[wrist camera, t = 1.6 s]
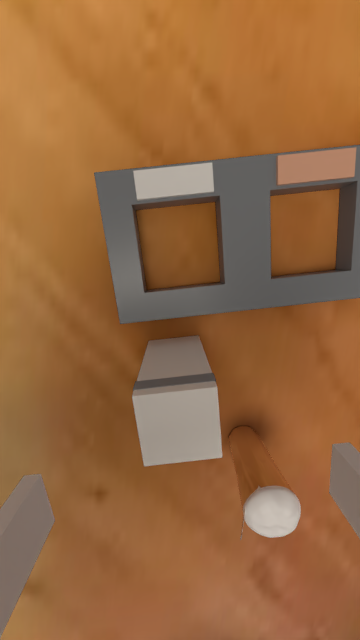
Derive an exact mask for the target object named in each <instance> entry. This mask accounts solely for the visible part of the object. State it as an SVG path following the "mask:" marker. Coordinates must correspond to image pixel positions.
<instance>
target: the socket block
mask: <svg viewBox="0 0 360 640" xmlns="http://www.w3.org/2000/svg"><path fill="white" fill-rule="evenodd" d="M94 175H95V181H96V187H97V192H98V198H99V204H100V210H101V216H102V221H103V227H104V233H105V239H106V245H107V250H108V256H109V262H110V268H111V274H112V280H113V285H114V291H115V297H116V303H117V309H118V314H119V320H120V324H125V323H134V322H143V321H152V320H161V319H170V318H179V317H189V316H198V315H207V314H216V313H225V312H234V311H243V310H253V309H262V308H271V307H280V306H289V305H298V304H308V303H317V302H326V301H335V300H344V299H353V298H360V145H353V146H343V147H334V148H324V149H315V150H305V151H296V152H286V153H277V154H267V155H258V156H248V157H239V158H229V159H220V160H210V161H201V162H191V163H182V164H172V165H163V166H153V167H144V168H134V169H125V170H115V171H105V172H96V173H94ZM331 189H340V199H339V217H338V236H337V254H336V270H329V271H319V272H310V273H301V274H292V275H282V276H273V277H271V227H270V196H274V195H284V194H293V193H303V192H312V191H321V190H331ZM208 202H215V203H216V219H217V235H218V251H219V267H220V282H218V283H209V284H199V285H190V286H181V287H172V288H163V289H153V290H147V289H146V281H145V274H144V267H143V260H142V253H141V245H140V238H139V231H138V224H137V216H136V210H143V209H152V208H161V207H171V206H180V205H190V204H199V203H208Z"/></svg>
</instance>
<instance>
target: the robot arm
mask: <svg viewBox="0 0 360 640" xmlns="http://www.w3.org/2000/svg"><path fill="white" fill-rule="evenodd" d="M329 493H330V495H331V496H332V498H333V499H334V501H335V502H336V504H337V505H338V507H339V508H340V510H341V511H342V513H343V514H344V516H345V517H346V519H347V520H348V522H349V523H350V525H351V526H352V528H353V529H354V531H355V532H356V534H357V535H358V537H359V538H360V453H359V452H358V451H357V450H356V449H355V448H354V447H353V446H352V444H351V443H340V444H332V459H331V475H330V490H329ZM54 522H55V518H54V515H53V512H52V509H51V505H50V502H49V499H48V496H47V492H46V489H45V486H44V483H43V479H42V476H41V474H34V475H25V476H23V478H22V479H21V480H20V482H19V483H18V485H17V486H16V487H15V489H14V490H13V492H12V493H11V495H10V496H9V497H8V499H7V500H6V502H5V503H4V504H3V506H2V507H1V509H0V637H1V635H2V633H3V631H4V629H5V627H6V625H7V622H8V620H9V618H10V616H11V614H12V612H13V610H14V607H15V605H16V603H17V601H18V599H19V597H20V595H21V592H22V590H23V588H24V586H25V584H26V582H27V580H28V577H29V575H30V573H31V571H32V569H33V567H34V564H35V562H36V560H37V558H38V556H39V554H40V552H41V549H42V547H43V545H44V543H45V541H46V539H47V537H48V534H49V532H50V530H51V528H52V526H53V524H54Z"/></svg>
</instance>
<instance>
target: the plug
mask: <svg viewBox="0 0 360 640" xmlns="http://www.w3.org/2000/svg"><path fill="white" fill-rule="evenodd" d="M132 399H133V405H134V411H135V417H136V423H137V428H138V434H139V440H140V446H141V451H142V457H143V463H144V466H152V465H161V464H170V463H179V462H187V461H196V460H205V459H214V458H222V444H221V431H220V417H219V403H218V390H217V385H216V379H215V376H214V374H213V373H212V371H211V368H210V365H209V363H208V360H207V357H206V354H205V352H204V349H203V346H202V343H201V341H200V338H199V335H196V336H187V337H178V338H169V339H160V340H151V341H148V345H147V348H146V351H145V355H144V358H143V361H142V365H141V368H140V371H139V375H138V378H137V381H135V384H134V388H133V395H132Z"/></svg>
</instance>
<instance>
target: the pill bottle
mask: <svg viewBox="0 0 360 640" xmlns="http://www.w3.org/2000/svg"><path fill="white" fill-rule="evenodd" d="M228 438H229V443H230V448H231V453H232V457H233V462H234V466H235V471H236V475H237V481H238V488H239V494H240V499H241V505H242V510H243V522H242V530H241V538H242V531H243V523H244V519H245V522H246V524H247V525H248V526H249V527H250V528H251V529H252V530H253V531H255V532H256V533H258V534H260V535H262V536H266V537H270V538H272V537H282V536H285V535H287V534H289V533H291V532H292V531H294V529H295V528H296V527H297V524H298V521H299V518H300V513H301V507H300V502H299V500H298V498H297V496H296V495H295V493H294V492H293V490H292V489H291V487H290V486H289V484H288V483H287V481H286V479H285V478H284V476H283V475H282V473H281V472H280V470H279V469H278V467H277V465H276V464H275V462H274V460H273V459H272V457H271V455H270V454H269V452H268V451H267V449H266V447H265V446H264V444H263V442H262V441H261V439H260V437H259V436H258V434H257V433H256V431H254V430H253V429H252V428H251V427H250V426H239V427H237V428H235V429H233V430H232V432H231V433H230V435H229V437H228ZM241 538H240V540H241Z"/></svg>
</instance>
